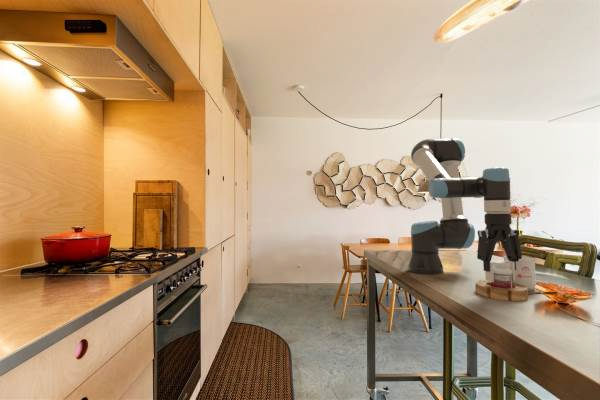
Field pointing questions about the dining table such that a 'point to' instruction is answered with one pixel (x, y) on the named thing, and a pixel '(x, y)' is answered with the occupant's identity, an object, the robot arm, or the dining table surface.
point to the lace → (534, 292)
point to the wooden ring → (501, 291)
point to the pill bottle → (502, 275)
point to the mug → (525, 272)
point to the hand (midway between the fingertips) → (500, 280)
